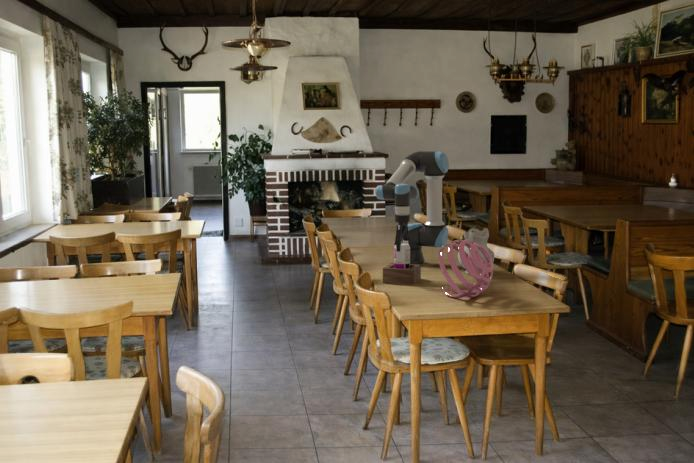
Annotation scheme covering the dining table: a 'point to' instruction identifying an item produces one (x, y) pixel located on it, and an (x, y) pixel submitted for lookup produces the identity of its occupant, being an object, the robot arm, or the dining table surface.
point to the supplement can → (405, 260)
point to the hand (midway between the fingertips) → (402, 255)
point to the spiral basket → (467, 268)
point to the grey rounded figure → (480, 239)
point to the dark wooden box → (402, 274)
